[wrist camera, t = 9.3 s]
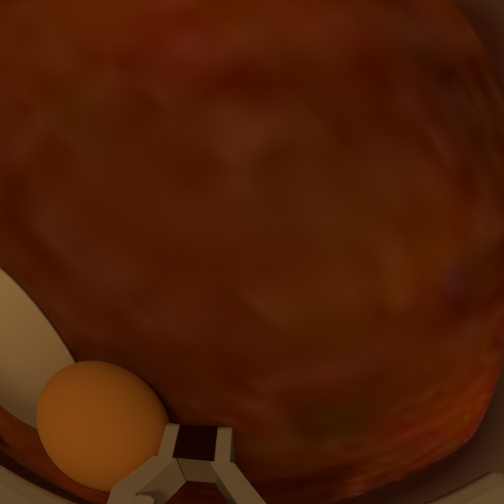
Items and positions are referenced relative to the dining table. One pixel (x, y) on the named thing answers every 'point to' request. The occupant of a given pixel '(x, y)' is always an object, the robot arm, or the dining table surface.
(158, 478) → the robot arm
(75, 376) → the ball
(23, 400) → the disc
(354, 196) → the dining table surface
